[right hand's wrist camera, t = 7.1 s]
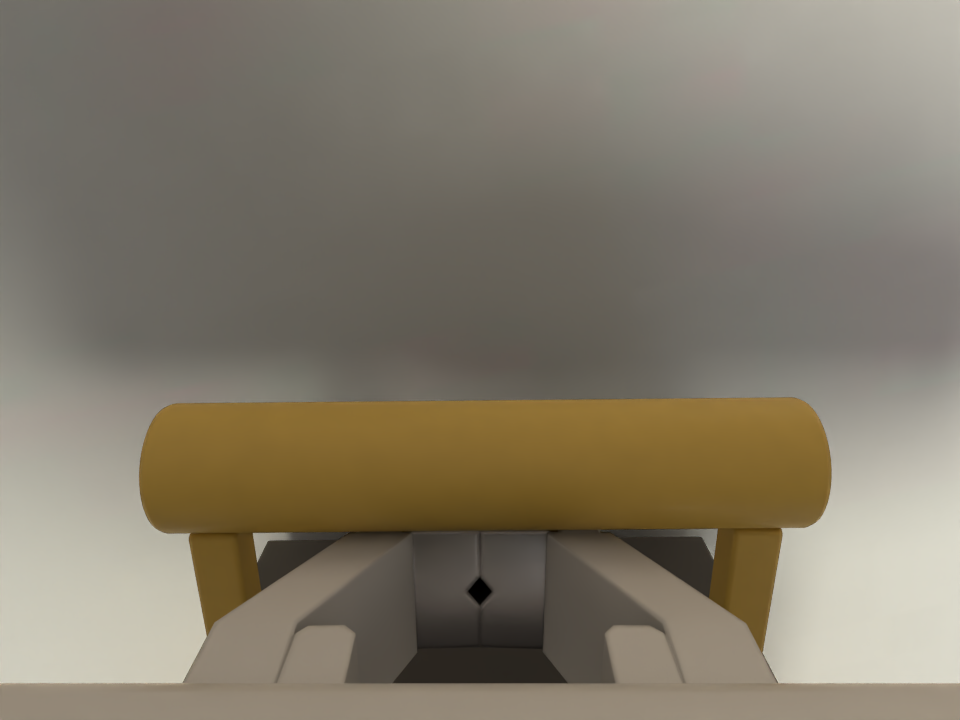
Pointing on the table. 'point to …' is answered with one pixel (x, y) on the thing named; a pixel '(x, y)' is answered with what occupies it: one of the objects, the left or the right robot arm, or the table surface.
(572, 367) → the table surface
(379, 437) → the drawer
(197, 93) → the table surface
